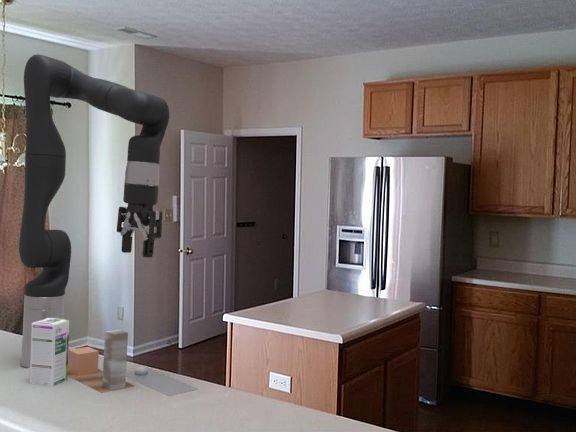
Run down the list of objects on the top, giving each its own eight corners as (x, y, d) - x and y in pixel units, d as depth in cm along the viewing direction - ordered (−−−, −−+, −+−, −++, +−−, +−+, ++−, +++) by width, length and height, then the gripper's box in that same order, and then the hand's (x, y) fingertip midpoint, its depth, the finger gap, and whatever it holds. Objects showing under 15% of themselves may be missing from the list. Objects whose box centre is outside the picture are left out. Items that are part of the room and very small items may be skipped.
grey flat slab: (118, 377, 138) (119, 367, 138) (148, 372, 144) (148, 361, 144) (168, 400, 124) (169, 388, 124) (199, 393, 130) (199, 382, 130)
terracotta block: (67, 371, 137) (68, 349, 137) (87, 367, 141) (88, 346, 141) (77, 376, 134) (78, 354, 134) (97, 372, 138) (98, 351, 138)
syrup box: (52, 391, 126) (55, 323, 126) (28, 388, 127) (31, 321, 127) (67, 383, 132) (70, 319, 132) (44, 380, 133) (47, 316, 133)
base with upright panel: (57, 374, 137) (60, 319, 137) (89, 369, 143) (92, 316, 143) (101, 397, 124) (104, 335, 123) (134, 390, 129) (137, 331, 129)
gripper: (110, 180, 134) (105, 251, 135) (145, 183, 125) (140, 259, 125) (138, 183, 140) (133, 251, 140) (174, 185, 130) (169, 258, 131)
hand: (136, 254), depth 133 cm, fingers open, 8 cm apart
